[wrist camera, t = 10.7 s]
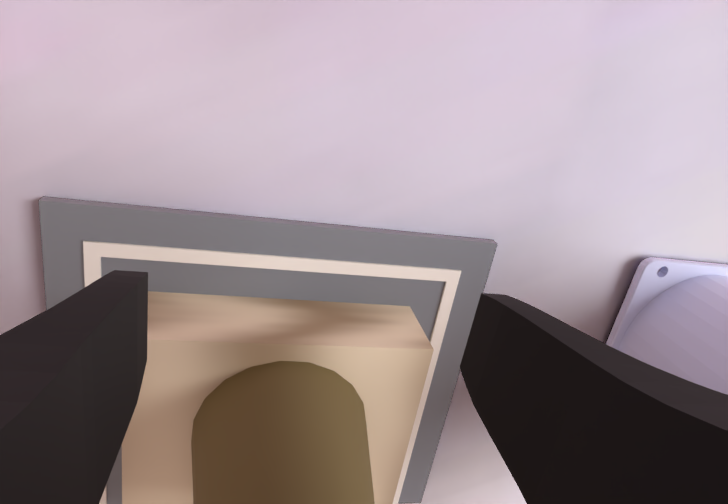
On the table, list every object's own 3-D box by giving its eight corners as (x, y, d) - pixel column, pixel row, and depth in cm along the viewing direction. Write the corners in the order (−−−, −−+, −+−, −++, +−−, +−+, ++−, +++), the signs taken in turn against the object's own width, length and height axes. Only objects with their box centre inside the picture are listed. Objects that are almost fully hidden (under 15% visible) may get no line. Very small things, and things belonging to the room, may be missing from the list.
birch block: (409, 306, 20) (434, 349, 17) (366, 490, 24) (380, 548, 21) (140, 290, 18) (120, 338, 15) (138, 498, 21) (122, 566, 19)
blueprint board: (493, 239, 20) (498, 244, 20) (415, 506, 26) (418, 515, 25) (43, 196, 16) (37, 201, 16) (65, 523, 22) (61, 533, 21)
